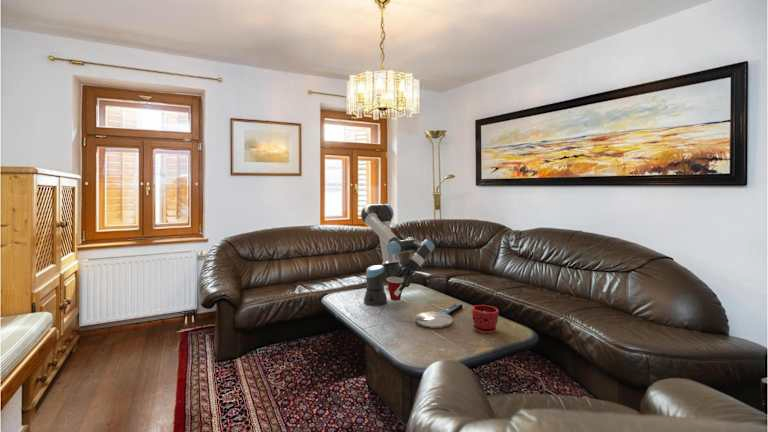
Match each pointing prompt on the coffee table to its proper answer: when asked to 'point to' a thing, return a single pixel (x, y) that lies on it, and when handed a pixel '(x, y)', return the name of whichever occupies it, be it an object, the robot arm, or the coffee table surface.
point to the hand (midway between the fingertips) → (391, 292)
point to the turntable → (434, 319)
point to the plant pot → (485, 318)
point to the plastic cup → (394, 287)
